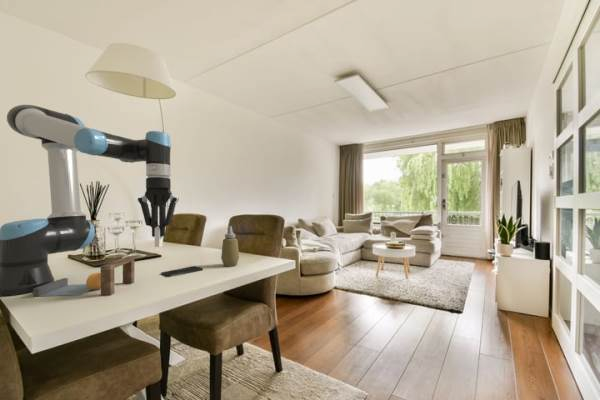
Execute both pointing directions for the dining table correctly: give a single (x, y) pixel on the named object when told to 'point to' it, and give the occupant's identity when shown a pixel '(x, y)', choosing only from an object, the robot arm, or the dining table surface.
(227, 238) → the squeeze bottle
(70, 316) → the dining table surface
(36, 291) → the stopper wall
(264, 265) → the dining table surface
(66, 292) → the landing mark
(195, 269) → the phone
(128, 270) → the bridge
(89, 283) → the ball
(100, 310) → the dining table surface
